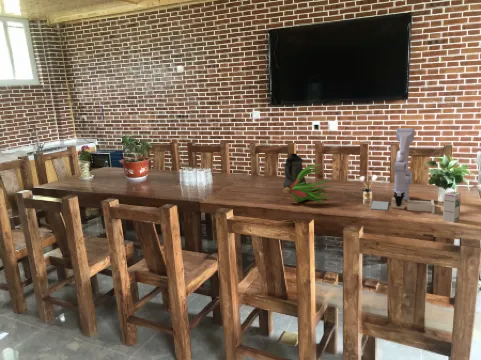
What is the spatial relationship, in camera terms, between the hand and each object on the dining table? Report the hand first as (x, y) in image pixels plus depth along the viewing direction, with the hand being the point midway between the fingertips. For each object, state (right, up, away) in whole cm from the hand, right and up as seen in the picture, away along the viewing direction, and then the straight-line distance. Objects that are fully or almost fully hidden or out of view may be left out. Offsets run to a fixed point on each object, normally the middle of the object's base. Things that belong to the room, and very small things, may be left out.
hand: (398, 205), depth 228 cm
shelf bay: (+11, -2, -4) cm, 12 cm away
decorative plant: (-49, +1, +21) cm, 54 cm away
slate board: (-9, -1, +4) cm, 10 cm away
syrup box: (+17, -6, -24) cm, 30 cm away
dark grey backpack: (-53, +8, +55) cm, 76 cm away
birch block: (0, -1, 0) cm, 1 cm away
